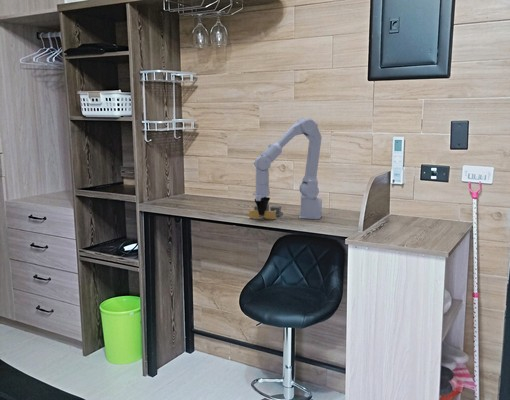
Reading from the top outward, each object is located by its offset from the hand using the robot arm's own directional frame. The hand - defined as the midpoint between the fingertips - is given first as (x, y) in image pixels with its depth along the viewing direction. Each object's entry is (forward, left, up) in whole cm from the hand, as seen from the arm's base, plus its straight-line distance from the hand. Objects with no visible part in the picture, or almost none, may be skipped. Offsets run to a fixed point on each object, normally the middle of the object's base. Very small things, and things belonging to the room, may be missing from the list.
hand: (262, 214), depth 228 cm
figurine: (+7, -26, -2) cm, 27 cm away
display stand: (0, -10, -2) cm, 10 cm away
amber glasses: (0, -1, -1) cm, 2 cm away
